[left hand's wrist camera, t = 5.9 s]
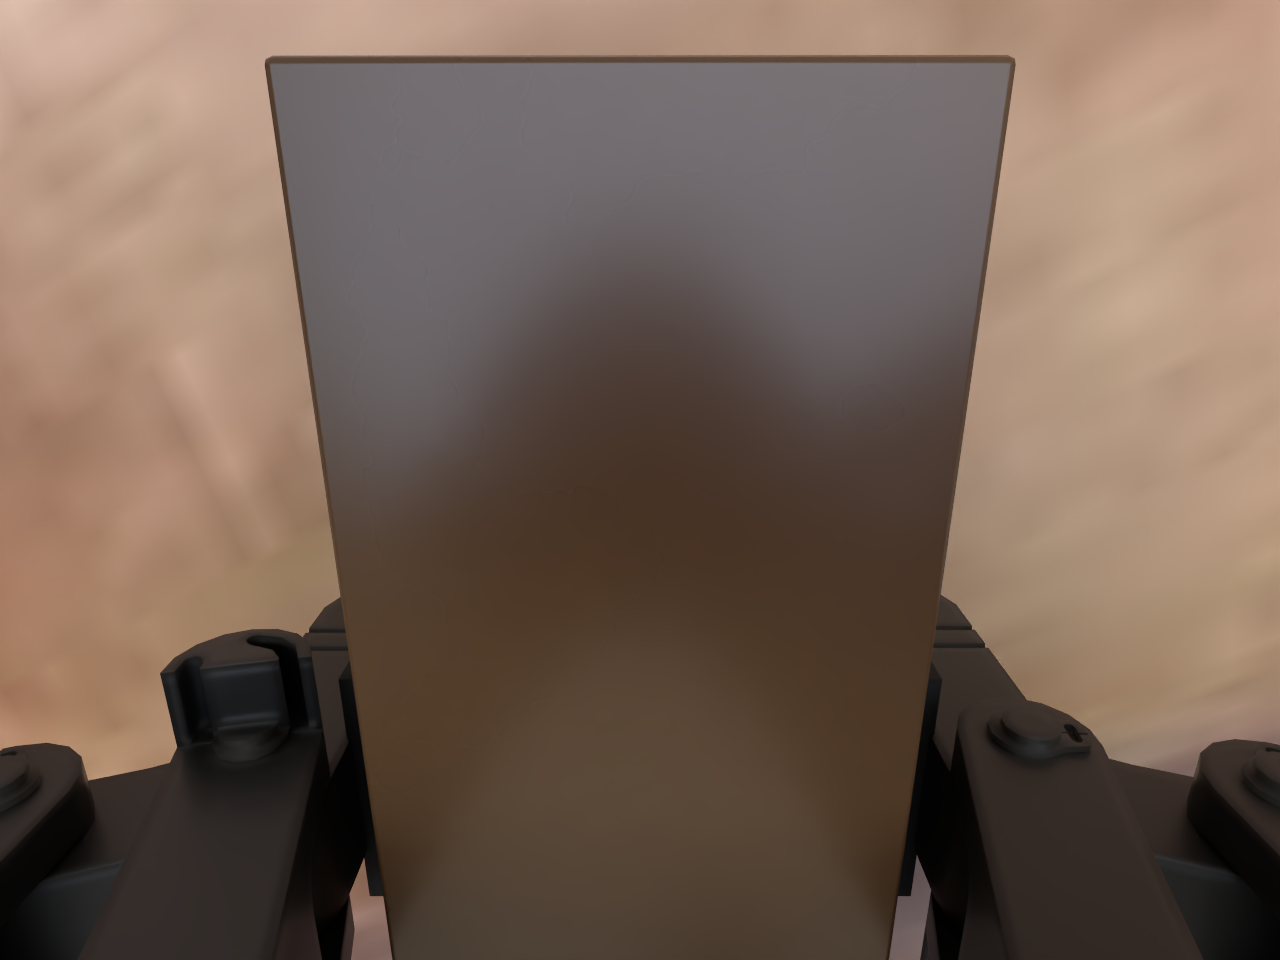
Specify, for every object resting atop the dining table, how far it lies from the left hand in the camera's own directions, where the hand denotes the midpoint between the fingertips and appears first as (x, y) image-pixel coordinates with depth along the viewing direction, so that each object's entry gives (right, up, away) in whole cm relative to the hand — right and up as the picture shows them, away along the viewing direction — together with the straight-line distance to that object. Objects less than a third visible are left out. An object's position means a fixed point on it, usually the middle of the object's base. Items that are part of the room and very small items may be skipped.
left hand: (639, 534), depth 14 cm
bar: (0, -26, +10) cm, 28 cm away
